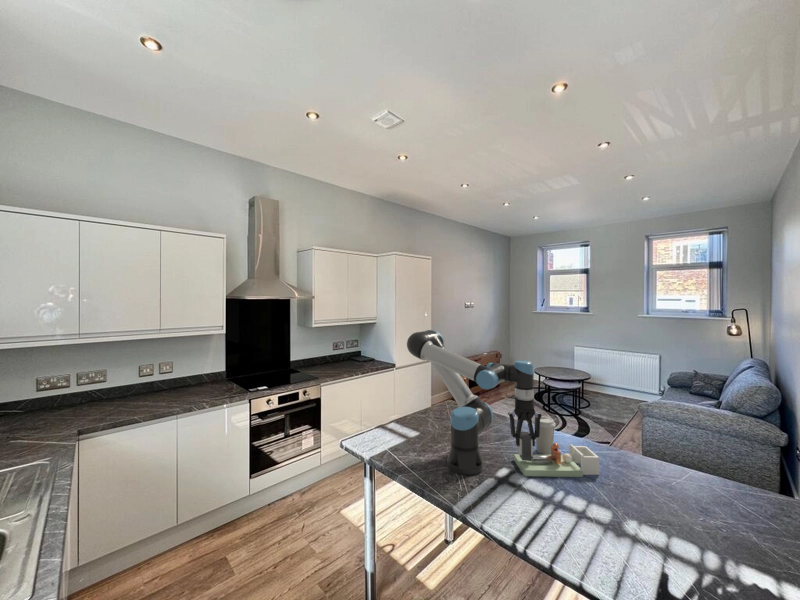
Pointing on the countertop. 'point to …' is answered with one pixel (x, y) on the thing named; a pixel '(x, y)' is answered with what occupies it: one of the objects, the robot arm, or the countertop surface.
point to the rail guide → (541, 462)
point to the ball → (567, 458)
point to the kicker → (527, 456)
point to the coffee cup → (545, 435)
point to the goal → (585, 459)
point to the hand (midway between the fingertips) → (525, 453)
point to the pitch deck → (548, 468)
